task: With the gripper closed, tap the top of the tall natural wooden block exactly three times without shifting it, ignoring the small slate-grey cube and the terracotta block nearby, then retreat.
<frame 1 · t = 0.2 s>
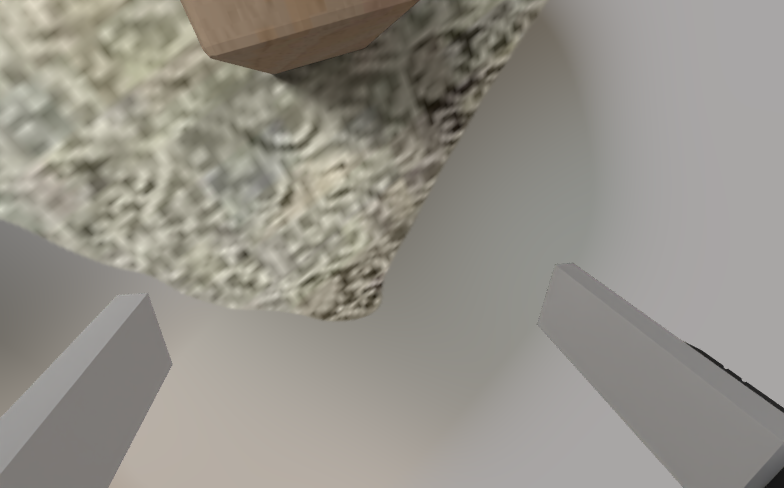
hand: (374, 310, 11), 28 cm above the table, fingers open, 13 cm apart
wooden block: (300, 0, 30), on the table
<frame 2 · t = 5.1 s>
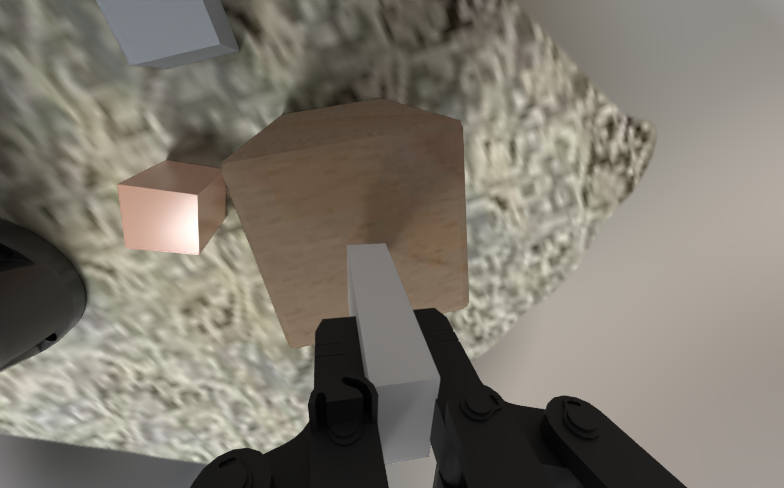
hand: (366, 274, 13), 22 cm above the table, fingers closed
terracotta block: (197, 190, 31), on the table
slate cube: (186, 17, 26), on the table
wooden block: (343, 158, 33), on the table
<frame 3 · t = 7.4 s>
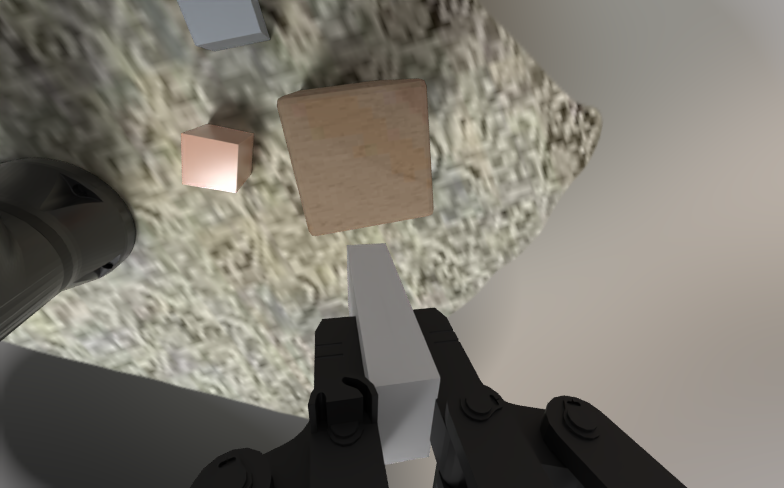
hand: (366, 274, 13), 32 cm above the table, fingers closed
terracotta block: (230, 149, 39), on the table
slate cube: (231, 12, 34), on the table
wooden block: (347, 129, 41), on the table
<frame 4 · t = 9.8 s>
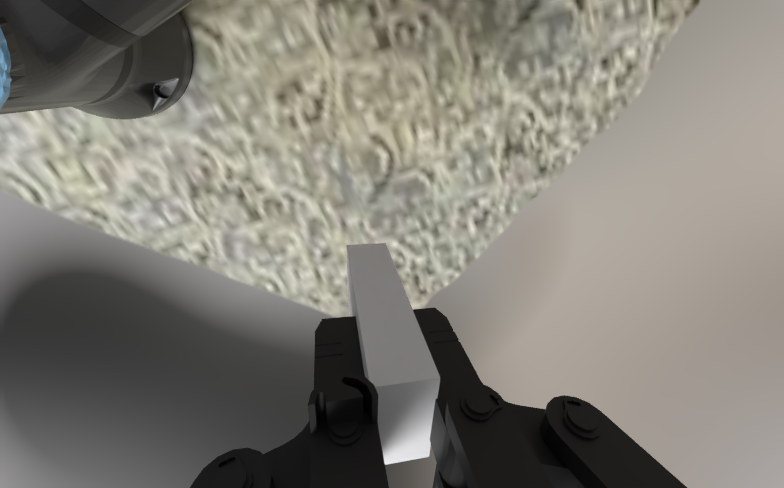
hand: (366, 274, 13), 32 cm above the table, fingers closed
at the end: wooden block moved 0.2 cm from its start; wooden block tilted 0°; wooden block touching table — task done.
